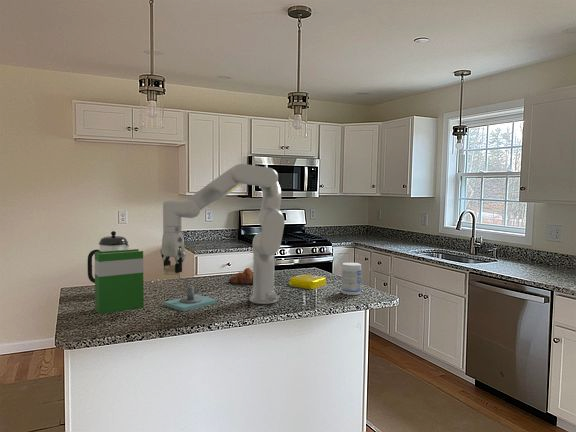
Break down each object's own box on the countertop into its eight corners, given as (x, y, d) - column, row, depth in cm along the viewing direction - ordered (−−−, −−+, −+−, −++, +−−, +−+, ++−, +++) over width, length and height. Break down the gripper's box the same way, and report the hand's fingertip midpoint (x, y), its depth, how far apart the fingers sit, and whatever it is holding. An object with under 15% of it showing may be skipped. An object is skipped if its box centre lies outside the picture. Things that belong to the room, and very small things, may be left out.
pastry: (250, 278, 251) (250, 264, 251) (270, 282, 241) (270, 268, 240) (227, 283, 239) (227, 268, 238) (247, 287, 228) (247, 272, 228)
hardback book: (138, 303, 194) (137, 249, 192) (143, 307, 188) (143, 251, 186) (95, 309, 184) (94, 252, 182) (99, 313, 178) (98, 254, 176)
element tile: (303, 281, 246) (304, 272, 246) (327, 285, 238) (327, 276, 237) (288, 286, 234) (288, 277, 234) (311, 290, 225) (312, 281, 225)
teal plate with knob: (216, 303, 197) (216, 285, 196) (183, 311, 183) (183, 292, 182) (196, 297, 205) (196, 280, 205) (163, 305, 191) (163, 287, 191)
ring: (184, 273, 189) (184, 266, 189) (171, 275, 184) (171, 268, 183) (174, 271, 193) (174, 264, 193) (160, 273, 188) (160, 266, 188)
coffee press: (124, 288, 221) (124, 228, 219) (134, 295, 208) (134, 231, 206) (87, 293, 211) (86, 230, 209) (95, 300, 198) (94, 233, 196)
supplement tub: (361, 296, 213) (362, 265, 212) (341, 295, 214) (342, 265, 213) (360, 291, 223) (360, 262, 222) (341, 290, 224) (341, 261, 223)
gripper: (192, 230, 185) (193, 272, 186) (166, 227, 196) (167, 267, 197) (178, 232, 179) (178, 275, 180) (152, 229, 190) (153, 270, 191)
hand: (172, 271), depth 189 cm, fingers closed on ring, 7 cm apart
